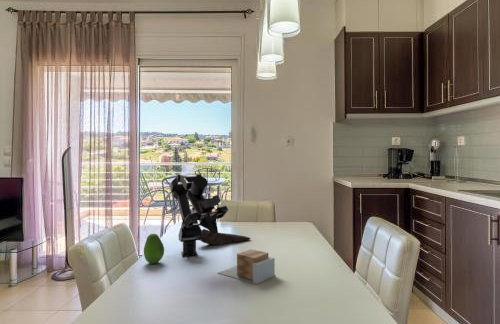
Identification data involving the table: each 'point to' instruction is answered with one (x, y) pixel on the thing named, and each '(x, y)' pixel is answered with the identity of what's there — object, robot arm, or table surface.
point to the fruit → (153, 249)
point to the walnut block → (248, 262)
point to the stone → (220, 238)
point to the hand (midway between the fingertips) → (216, 233)
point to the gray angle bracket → (255, 271)
